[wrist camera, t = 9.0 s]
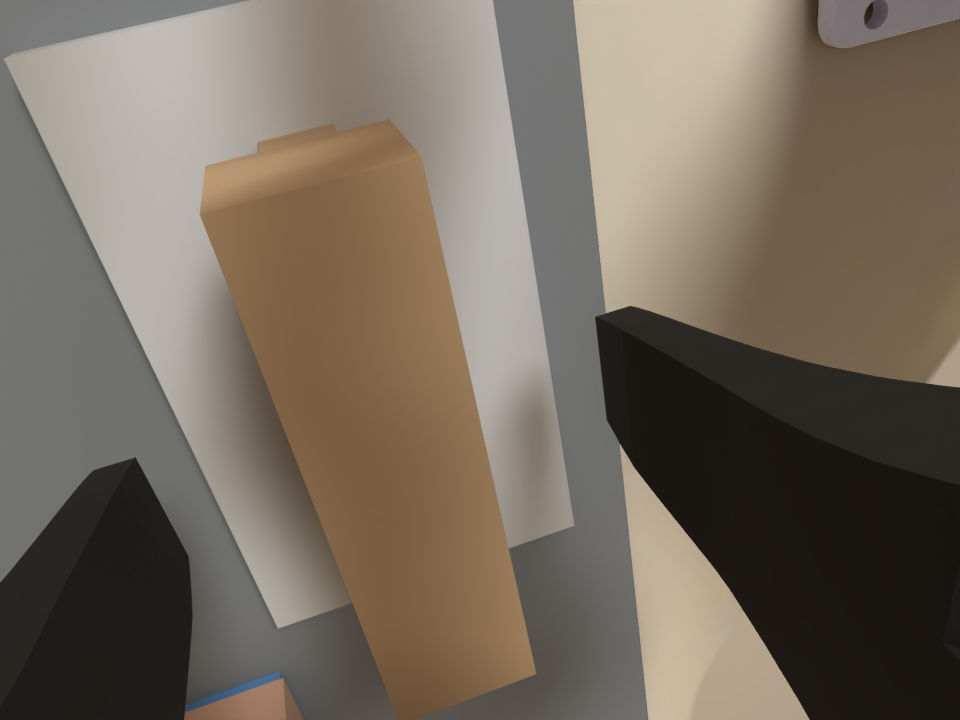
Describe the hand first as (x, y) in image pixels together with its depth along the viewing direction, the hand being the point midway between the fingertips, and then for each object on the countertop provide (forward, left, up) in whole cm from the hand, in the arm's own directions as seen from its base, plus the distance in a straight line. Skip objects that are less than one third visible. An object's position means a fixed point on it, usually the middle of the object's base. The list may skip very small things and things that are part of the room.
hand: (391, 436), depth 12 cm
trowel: (0, 0, -3) cm, 3 cm away
